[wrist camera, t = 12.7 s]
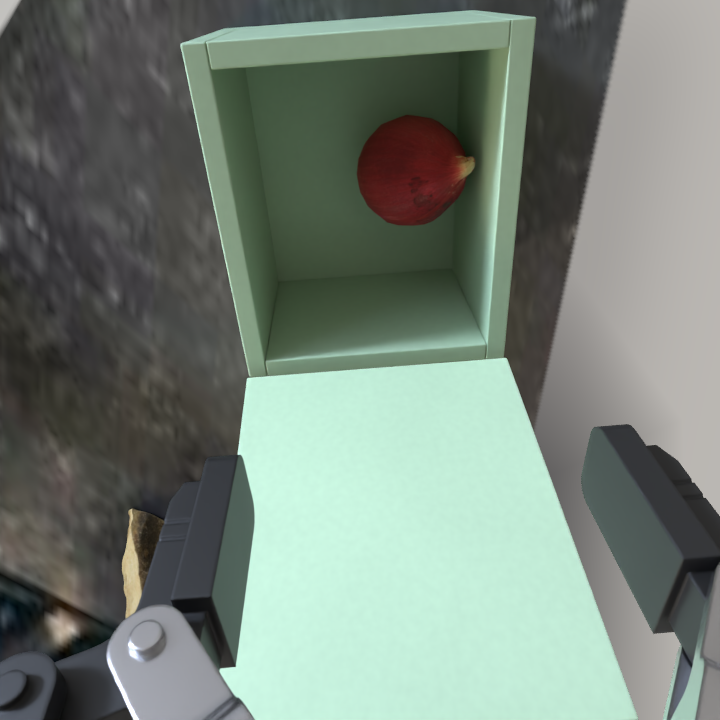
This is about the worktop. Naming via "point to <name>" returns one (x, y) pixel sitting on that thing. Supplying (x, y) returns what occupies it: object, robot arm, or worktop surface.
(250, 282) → the chest
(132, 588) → the rock
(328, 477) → the lid
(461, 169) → the onion
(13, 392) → the worktop surface
